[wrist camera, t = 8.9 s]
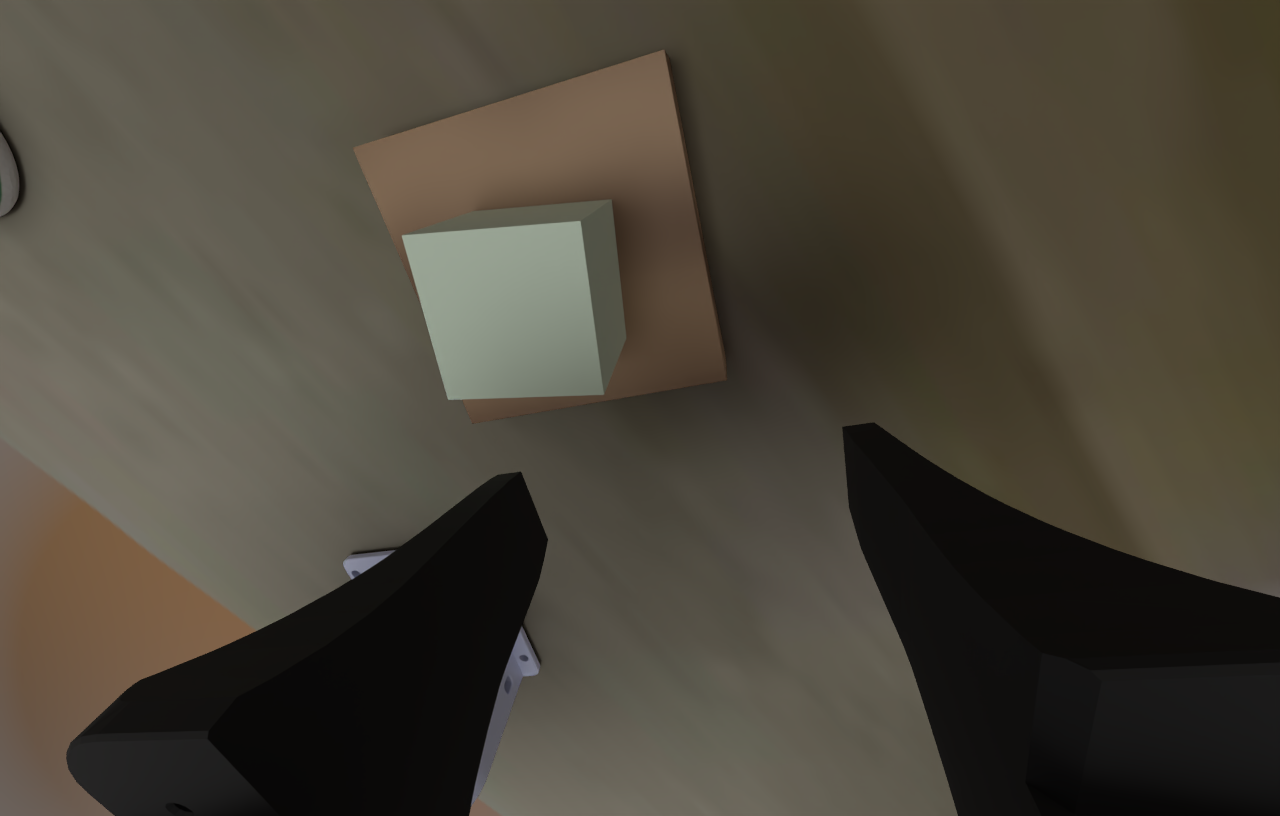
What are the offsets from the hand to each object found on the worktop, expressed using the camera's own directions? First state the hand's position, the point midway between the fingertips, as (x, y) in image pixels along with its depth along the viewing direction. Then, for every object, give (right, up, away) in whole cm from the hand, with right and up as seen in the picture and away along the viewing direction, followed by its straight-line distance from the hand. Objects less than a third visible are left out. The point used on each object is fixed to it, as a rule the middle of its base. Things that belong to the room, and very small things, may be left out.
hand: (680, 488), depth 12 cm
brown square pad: (-4, +7, +8) cm, 11 cm away
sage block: (-4, +6, +6) cm, 9 cm away
